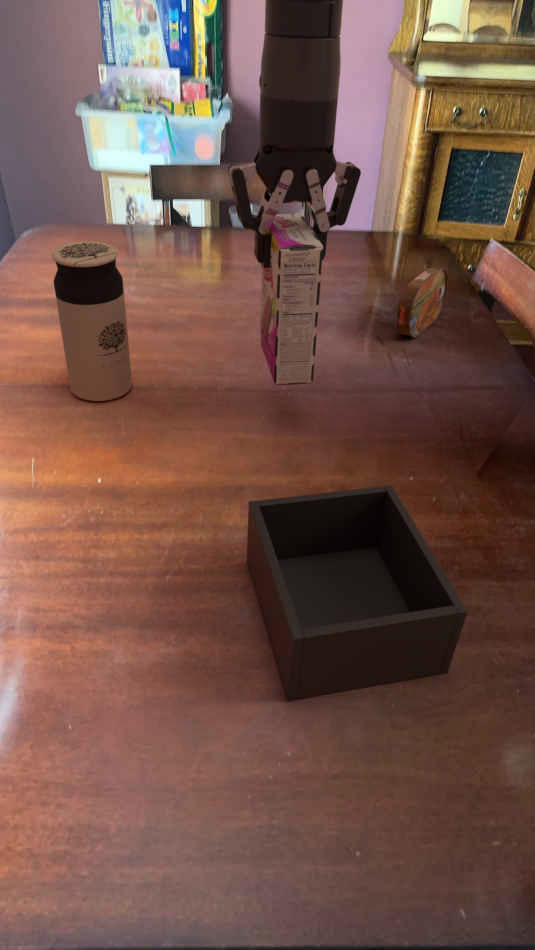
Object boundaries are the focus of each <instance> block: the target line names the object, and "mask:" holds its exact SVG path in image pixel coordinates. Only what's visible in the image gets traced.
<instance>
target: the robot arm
mask: <svg viewBox="0 0 535 950" xmlns="http://www.w3.org/2000/svg"><path fill="white" fill-rule="evenodd" d="M264 3H265V4H264V36H263V44H262V51H261V60H260V75H259V77H258V78H259V79H258V80H259V81H258V85H259V122H258V123H259V125H258V127H259V128H258V129H259V130H258V134H259V135H258V149H257V153H256V154H255V156H254V159H253V161H252V162H248V163H244V164H241V165H238V164H237V163H230V165H229V166H228V167H227V174H228V177H229V183H230V187H231V191H232V196H233V201H234V205H235V210H236V214H237V220H238V221H239V222H240V224H241V225H242V227H243V228H244V229H246V230H252V231H254V252H253V254H254V256H255V259H256V261H257V262H258V264H260V265H261V268H262V267H263V268H270V256H271V234H270V232H269V231H270V229H271V226H272V223H273V221H274V218H275V216H276V215H277V214H278V213H280V211H281V207H282V205H283V204H289V203H293V202H300V203H306V204H307V206H308V209H309V212H310V216H311V219H312V222H313V223H312V224H313V225H312V226H311V228H312V230H313V231H314V233H315V234H316V236H317V238H318V239H319V241H320V242H321V244H322V245H323V255H322V261H324V259H325V258H326V254H327V253H326V252H327V241H328V232H329V230H330V229H332V228H334V227H336V226H339V227H340V226H341V227H342V226H343V225H345V224H346V222H347V219H348V215H349V213H350V209H351V206H352V204H353V200H354V197H355V195H356V194H355V193H356V191H357V188H358V185H359V181H360V178H361V175H362V171H361V168H360V167H358V166H357V165H355V164H354V163H353V162H352V161H346V162H341V161H338V160H337V158H336V156H335V154H334V146H335V135H336V134H335V133H336V124H337V113H338V104H339V103H338V102H339V101H338V100H339V91H340V90H339V88H340V78H341V67H342V66H341V63H342V62H341V61H342V60H341V59H342V58H341V34H342V23H343V11H344V0H264ZM333 174H334V180H335V182H336V183H337V185H336V188H335V192H334V195H333V198H332V201H331V204H330V208H329V210H328V211H327V206H326V205H327V204H326V201H325V198H324V193H323V190H322V189H323V188H324V187H325V186H326V184H327V183H328V181H329V180H330V179H331V177H332V176H333ZM255 175H257V176H258V178H259V179H260V181H261V182H262V184H263V185H264V186H265V187H264V189H263V192H262V195H261V197H260V201H259V202H260V203H259V207H258V210H257V212H256V214H253V213H252V207H251V202H250V198H249V191H248V189H249V188H251V186H252V185H253V177H254V176H255Z"/></svg>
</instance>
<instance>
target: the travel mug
mask: <svg viewBox="0 0 535 950" xmlns="http://www.w3.org/2000/svg"><path fill="white" fill-rule="evenodd" d="M118 256H119V251H118V249H117V248H116V247H115V246H114V245H111V244H109V243H106V242H100V241H91V240H89V241H87V240H86V241H85V240H83V241H74V242H69V243H65V244H62V245H59V246H57V247H56V248H54V249H53V250H52V252H51V258H52V260H53V261H54V262H55V265H56V268H57V270H56V273H55V275H54V278H53V287H54V293H55V299H56V306H57V312H58V319H59V326H60V332H61V339H62V345H63V350H64V351H63V352H64V358H65V365H66V372H67V376H68V384H69V389H70V392H71V393H72V394H73V395H74V396H75V397H77V398H79V399H82V400H86V401H93V402H103V401H111V400H115V399H117V398H120V397H123V396H124V395H125V394H127V393H129V391H130V390H131V389H132V386H133V378H132V366H131V355H130V345H129V335H128V334H129V333H128V322H127V310H126V302H125V300H126V299H125V289H124V278H123V276H122V274H121V272H120V271H119V269H118V268H117V258H118Z"/></svg>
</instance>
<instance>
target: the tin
mask: <svg viewBox="0 0 535 950" xmlns="http://www.w3.org/2000/svg"><path fill="white" fill-rule="evenodd" d="M448 282H449V277H448V271H447V270H446V269H445V268H442V269H440V268H434V267H428V268H426V269H425V270H422V271H421V273H419V274H418V275H416V276H415V277H414V278H413V279H412V280H410V281H409V282H408V283H407V284H406V285H405V286H404V288H403V290H402V291H401V293H400V297H399V299H398V302H397V313H396V323H395V328H396V331H397V333H399V334H401V335H404V336H408V337H411V338H414V339H415V338H417V337H419V336H420V335H421V334H422V333H423V332H424V331H425V330H426V329H427V328H428V327H430V326H431V325H432V324H433V323H434V322H435V321H436V320H437V318H438V317H439V316H440V313H441V311H442V309H443V306H444V303H445V300H446V296H447V291H448V284H449V283H448Z"/></svg>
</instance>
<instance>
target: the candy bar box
mask: <svg viewBox="0 0 535 950" xmlns="http://www.w3.org/2000/svg"><path fill="white" fill-rule="evenodd" d="M311 227H312V226H311V224H310V223H309V221H308V220H307V219H306V217H305V215H304V214H303V213H302V212H289V213H288V212H278V214H277V215H276V216H275V218H274V221H273V223H272V226H271V229H270V231H269V232H270V234H271V256H270V268H263V267H262V266H261V290H260V291H261V293H260V295H261V296H260V297H261V298H260V299H261V300H260V341H259V342H260V346H261V348H262V352H263V354H264V357H265V360H266V363H267V366H268V369H269V373H270V374H271V375H270V376H271V378H272V381H273V384H274V385H275V386H294V385H308V384H313V383H314V376H315V362H316V361H315V360H316V349H317V335H318V322H319V311H320V310H319V309H320V298H321V297H320V295H321V281H322V267H323V260H322V255H323V245H322V244H321V242H320V241H319V239H318V238H317V236H316V234H315V233H314V231H313V230H312V228H311Z"/></svg>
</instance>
